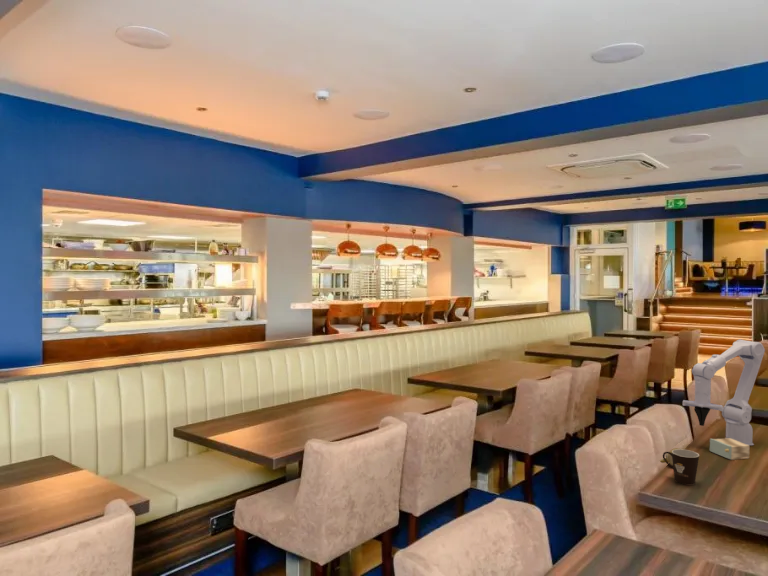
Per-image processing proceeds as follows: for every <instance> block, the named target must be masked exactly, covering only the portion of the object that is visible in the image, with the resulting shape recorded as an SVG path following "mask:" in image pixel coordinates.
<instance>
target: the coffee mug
mask: <svg viewBox="0 0 768 576" xmlns="http://www.w3.org/2000/svg"><path fill="white" fill-rule="evenodd" d="M666 453H668V454H670V455H671V456H672V460H673V466H672V465H671V464H670V463H669V462H667V461H666V459H665V458H666ZM662 459H664V461H665V463H666V464H667V465H668V466H669V468H671V469H672V470H673V478H674V481H675V480H676V481H677V482H676V481H675V482H676V483H678V482H680V483H679V484H681V483H683V484H682V485H686V484H692V485H695V484H696V478H697V473H698V465H699V460H700V453H698V452H696V451H693V450H689V449H684V448H683V449H682V448H679V449H675V450H672V453H670V452H669V451H664V452H663V453H662ZM694 483H695V484H694Z"/></svg>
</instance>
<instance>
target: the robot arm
mask: <svg viewBox="0 0 768 576" xmlns="http://www.w3.org/2000/svg"><path fill="white" fill-rule="evenodd" d="M765 352H766V349H765V347H764V345H763V343H761V342H760V341H753V340H752V341H751V340H744V339H737V340H735V341H733V343H732V346H730V347H729V348H727V349H726V350H725V351H723V352H722V353H721V354H711V356H710V357H709V358H708V359H706V360H705V359H704V361H703V362H702V363H700V362H697V363H696V364H694V365H693V367H692V369H691V374H692V376H693V380H694V400H685V399H683V400H682V406H683V407H684V406H686V407H694V412H695V414H696V417H697V419H698V423H699V425H698V426H701V427H704V426H705V423H706V419H707V416H708V415H709V413H710V411H711V410H715V411H718V412H721V415H722V416H721V417H722V418H724V422H725V438H731V439H734V440H736V441H739V442H741V443H744V444H746V445H749V446H754V445H755V444H754V442H753V435H754V434H753V431H754V430H753V427H752V425H751V424H750V422H751V420H752V413H753V412H752V410H753V408H752V406H751V405H750V404H749V400H750V397H751V394H752V390H753V389H754V385H755V382H756V379H757V376H758V373H759V372H760V368H761V364H762V361H763V357H764V355H765ZM736 357H739V358H740V359H741V360H742V361H743V363H744V365H743V368H742V371H741V374H740V377H739V380H738V383H737V385H736V389H735V393H734V394H733V395H734V396H733V397H732V398H730V399H728V400H727V401H726V403H725V404H724V405H721V404H716V403H711V399H712V398H711V394H712V393H711V391H712V379H713V378H714V377H715V374H716V373H717V372H718V371H720V370H721V369H723V368H724V367H725V366H726V365H727V362H728V361H731V360H732V359H735V358H736Z"/></svg>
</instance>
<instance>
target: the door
mask: <svg viewBox="0 0 768 576" xmlns="http://www.w3.org/2000/svg"><path fill="white" fill-rule="evenodd" d="M714 439H715V438H709V448H708V449H709V452H712V453H713V454H716V455H719V456H721V457H724V458H726V459H728V460H731V450H732V446H730V445H727V444H725V443H722V442H719V441H717V440H714Z"/></svg>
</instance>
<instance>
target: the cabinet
mask: <svg viewBox="0 0 768 576" xmlns="http://www.w3.org/2000/svg"><path fill="white" fill-rule="evenodd" d="M713 439H714V440H717V441H719V442H722V443H725V444H727V445H730V446H732V450H731V459H730V460H731V461H733V460H743V459H750V449H751V448H750V446H751V445H746V444H744V443H741V442H739V441H736V440H734V439H731V438H726V437H724V438H713Z"/></svg>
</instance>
